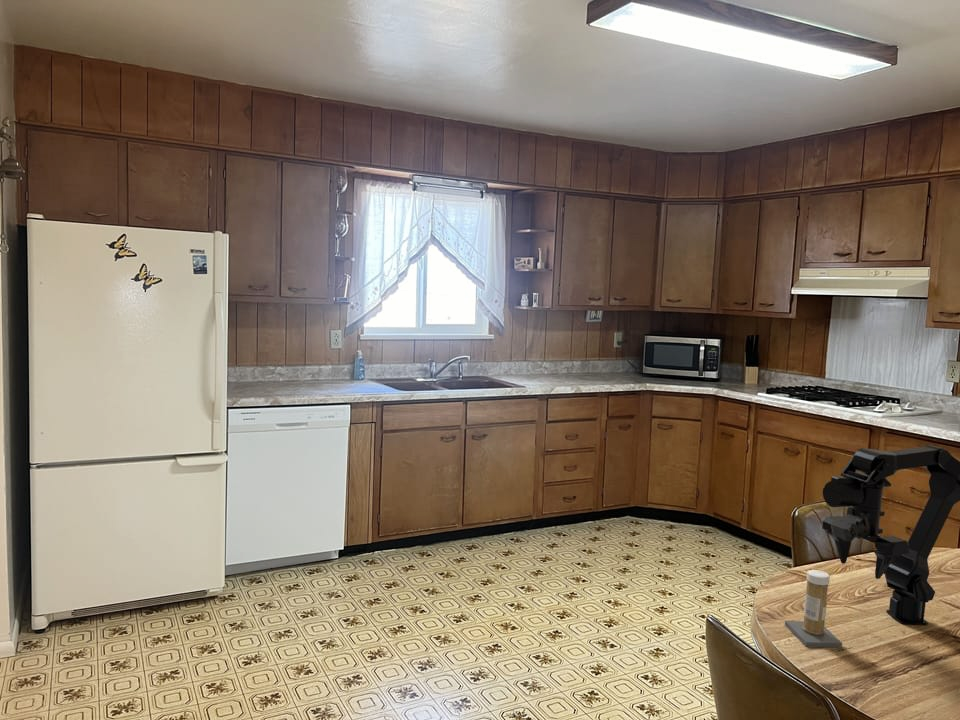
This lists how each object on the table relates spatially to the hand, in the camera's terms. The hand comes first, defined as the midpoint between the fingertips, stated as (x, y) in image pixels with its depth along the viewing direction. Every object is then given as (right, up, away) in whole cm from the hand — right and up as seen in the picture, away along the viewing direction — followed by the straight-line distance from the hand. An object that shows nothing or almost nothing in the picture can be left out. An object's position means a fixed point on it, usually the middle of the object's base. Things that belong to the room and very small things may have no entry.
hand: (860, 570), depth 165 cm
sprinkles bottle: (-13, -12, -5) cm, 19 cm away
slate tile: (-13, -13, -5) cm, 19 cm away
